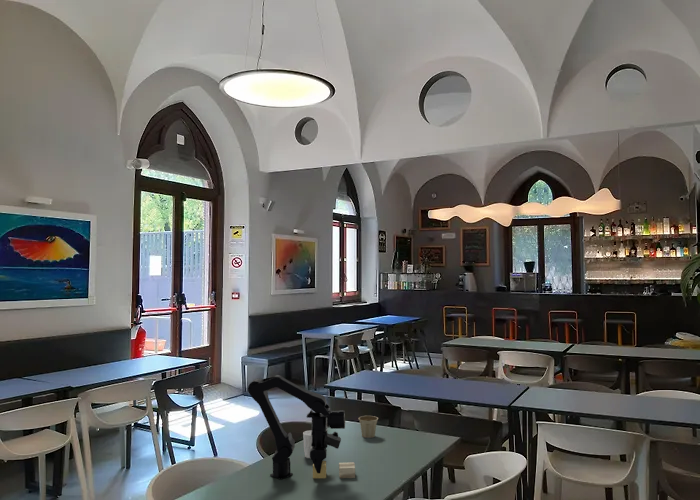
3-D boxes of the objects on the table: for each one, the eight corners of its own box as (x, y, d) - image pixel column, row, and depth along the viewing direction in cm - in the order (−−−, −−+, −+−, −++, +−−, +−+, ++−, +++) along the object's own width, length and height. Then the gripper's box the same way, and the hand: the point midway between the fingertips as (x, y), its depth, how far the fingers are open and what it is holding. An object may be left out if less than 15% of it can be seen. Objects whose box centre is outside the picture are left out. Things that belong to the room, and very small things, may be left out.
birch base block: (355, 478, 213) (355, 467, 213) (339, 478, 213) (339, 468, 213) (354, 472, 219) (354, 462, 219) (339, 473, 219) (339, 462, 219)
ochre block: (325, 478, 213) (325, 465, 213) (312, 478, 213) (312, 465, 213) (326, 473, 218) (326, 460, 218) (313, 473, 218) (313, 460, 218)
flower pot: (381, 435, 267) (381, 417, 268) (372, 440, 259) (372, 421, 260) (365, 432, 272) (364, 414, 273) (355, 437, 264) (354, 419, 265)
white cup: (299, 457, 237) (299, 434, 237) (309, 452, 244) (309, 429, 244) (315, 460, 233) (315, 436, 234) (325, 454, 240) (324, 431, 241)
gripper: (339, 435, 207) (339, 477, 207) (339, 421, 226) (340, 460, 225) (309, 435, 207) (309, 478, 206) (312, 422, 226) (312, 460, 225)
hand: (319, 468), depth 216 cm, fingers open, 9 cm apart
